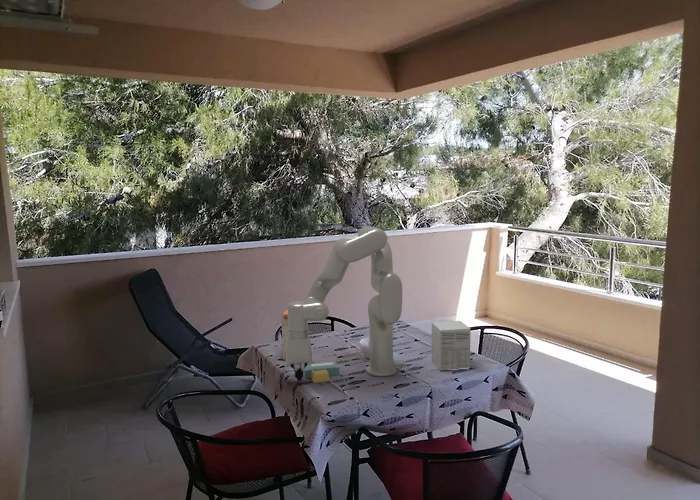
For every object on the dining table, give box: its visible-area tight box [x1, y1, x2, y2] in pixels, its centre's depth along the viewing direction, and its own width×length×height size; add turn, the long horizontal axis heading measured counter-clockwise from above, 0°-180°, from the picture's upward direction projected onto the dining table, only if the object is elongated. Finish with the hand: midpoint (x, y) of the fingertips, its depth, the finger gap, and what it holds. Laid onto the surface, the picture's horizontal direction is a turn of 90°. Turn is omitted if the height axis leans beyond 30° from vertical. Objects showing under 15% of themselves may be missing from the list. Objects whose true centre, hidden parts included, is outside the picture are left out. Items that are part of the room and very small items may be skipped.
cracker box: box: [281, 309, 288, 361], centre depth 241 cm, size 14×6×21 cm, turn 168°
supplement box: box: [431, 320, 472, 371], centre depth 226 cm, size 13×13×18 cm
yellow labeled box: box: [311, 370, 330, 384], centre depth 213 cm, size 6×5×3 cm
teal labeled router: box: [303, 360, 340, 379], centre depth 220 cm, size 14×8×3 cm, turn 104°
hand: (299, 379), depth 211 cm, fingers closed
